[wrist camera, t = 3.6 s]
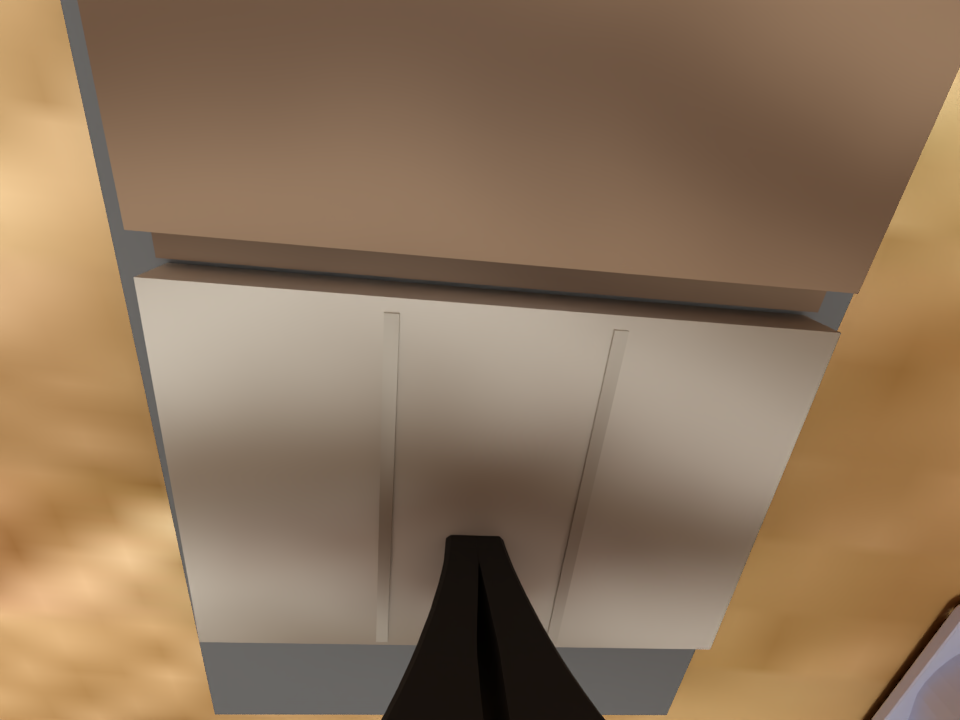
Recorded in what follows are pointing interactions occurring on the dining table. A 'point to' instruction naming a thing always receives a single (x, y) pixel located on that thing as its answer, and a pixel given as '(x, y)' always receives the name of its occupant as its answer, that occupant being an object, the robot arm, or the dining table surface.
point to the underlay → (359, 667)
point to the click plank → (466, 450)
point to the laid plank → (526, 137)
